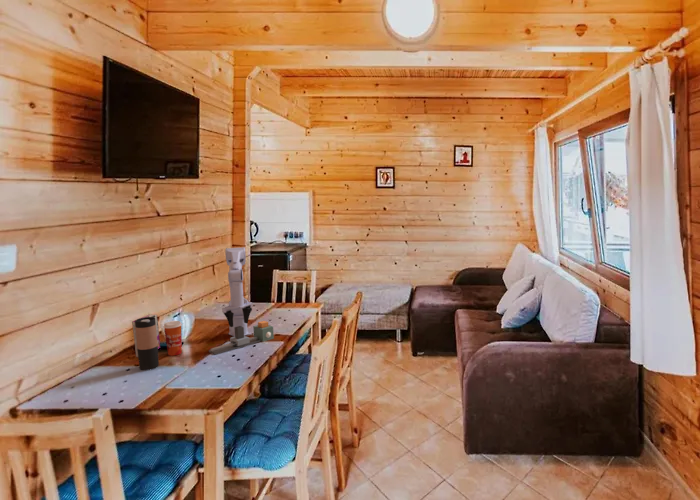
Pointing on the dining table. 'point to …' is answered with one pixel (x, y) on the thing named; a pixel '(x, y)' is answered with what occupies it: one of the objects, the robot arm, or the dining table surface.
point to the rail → (232, 346)
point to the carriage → (239, 336)
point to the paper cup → (173, 337)
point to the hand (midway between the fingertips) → (238, 324)
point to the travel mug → (147, 343)
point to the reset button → (263, 324)
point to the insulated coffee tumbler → (156, 331)
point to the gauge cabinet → (264, 333)
